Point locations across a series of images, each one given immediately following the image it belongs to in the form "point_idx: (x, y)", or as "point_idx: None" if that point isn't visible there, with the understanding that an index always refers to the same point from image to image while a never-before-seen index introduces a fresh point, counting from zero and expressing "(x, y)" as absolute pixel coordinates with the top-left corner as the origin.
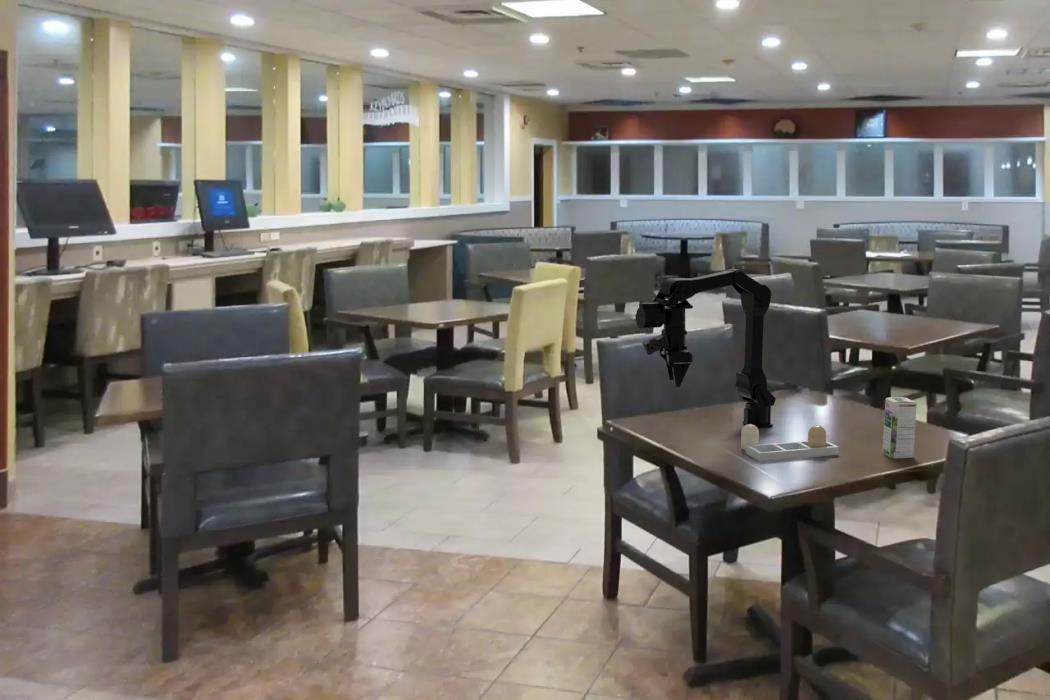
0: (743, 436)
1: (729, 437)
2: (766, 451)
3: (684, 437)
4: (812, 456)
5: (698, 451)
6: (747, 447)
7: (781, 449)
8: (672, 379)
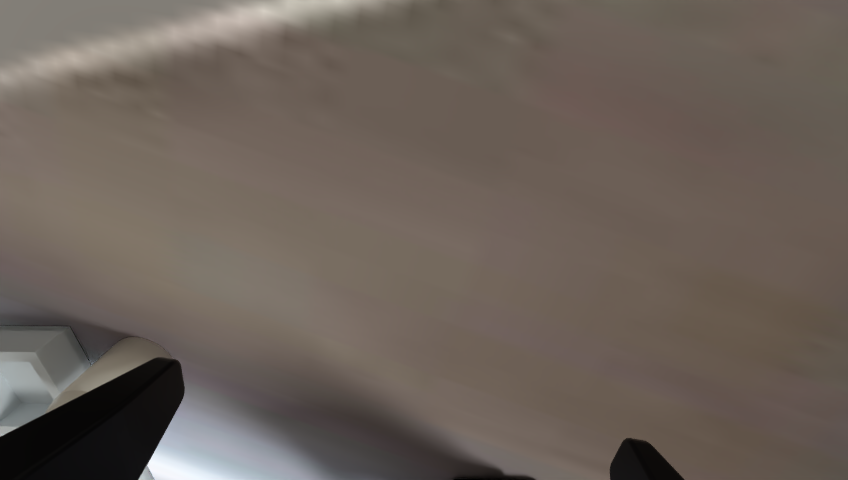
0: (75, 382)
1: (339, 373)
2: None
3: (370, 212)
4: None
5: (107, 183)
6: (26, 349)
7: (11, 425)
8: (613, 467)
